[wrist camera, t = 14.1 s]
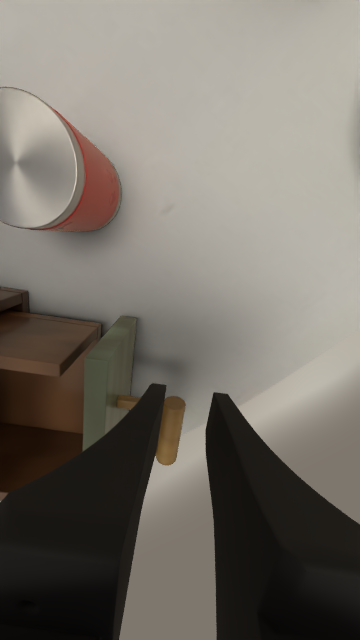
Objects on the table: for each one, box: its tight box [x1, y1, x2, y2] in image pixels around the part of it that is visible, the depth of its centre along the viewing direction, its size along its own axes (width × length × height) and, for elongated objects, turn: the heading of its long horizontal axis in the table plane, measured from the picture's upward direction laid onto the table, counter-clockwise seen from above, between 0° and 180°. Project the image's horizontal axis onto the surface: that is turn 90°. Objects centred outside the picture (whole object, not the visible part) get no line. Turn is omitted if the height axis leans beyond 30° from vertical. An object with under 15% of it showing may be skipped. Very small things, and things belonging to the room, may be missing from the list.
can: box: [0, 87, 121, 231], centre depth 14 cm, size 5×5×7 cm
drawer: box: [0, 310, 186, 501], centre depth 18 cm, size 16×12×7 cm
